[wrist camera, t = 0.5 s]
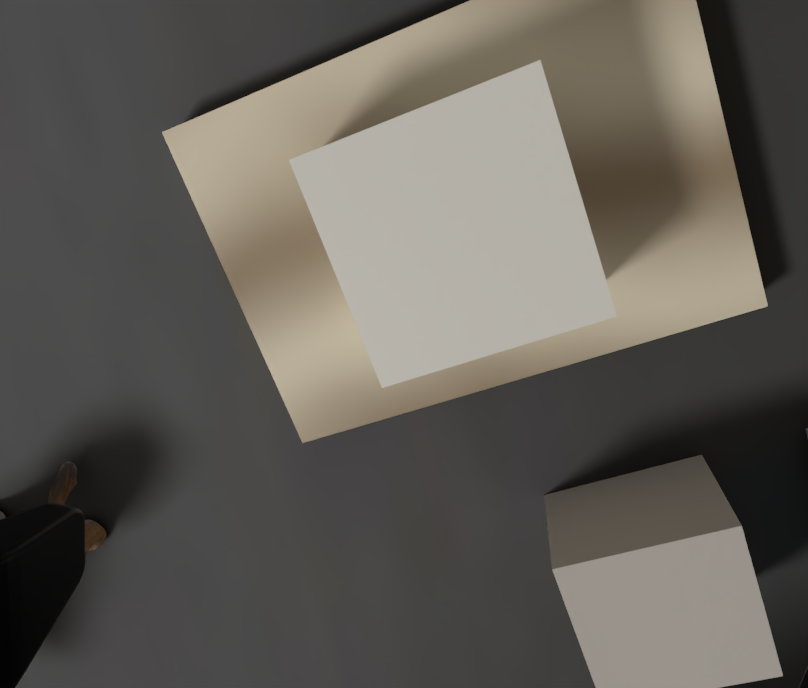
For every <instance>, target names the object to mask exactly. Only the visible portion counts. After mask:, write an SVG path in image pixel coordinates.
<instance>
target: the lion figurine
mask: <svg viewBox="0 0 808 688" xmlns="http://www.w3.org/2000/svg"><path fill="white" fill-rule="evenodd" d="M76 476H77V468H76V465H75V464H74V463H72V462H70V461H66V462H64V463H63V464H62V466H61V467H60V469H59V471H58V474H57V477H56V479H55V480H54V482H53V483H52V485H51V488H50V491H49V500H48V503H57V504H61V505H65V502H66V500H67V498H68V495H69V494H70V492H71V491H72V489H73V488H74V487H75V486H76V484H77V479H76ZM4 518H6V517H5V515H4V514H3V513H2V512H1V511H0V520H1V519H4ZM105 538H106V531H105V529H104V528H103V527H102V526H101V525H100V524H98V523H97V522H95V521H93V520H85V553H86V552H87V551H91V550H95V549H97V548H98V547H100V545H101V544H102V543H103V542H104V540H105Z"/></svg>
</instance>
